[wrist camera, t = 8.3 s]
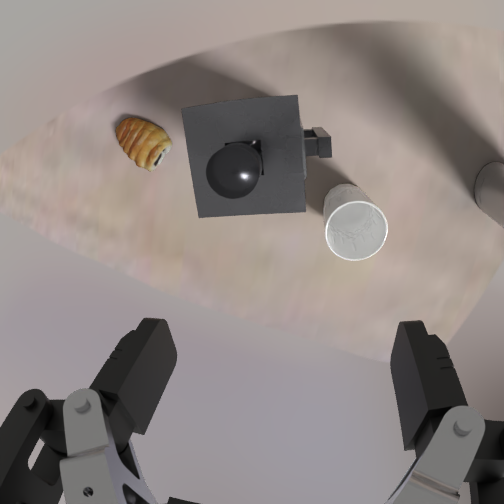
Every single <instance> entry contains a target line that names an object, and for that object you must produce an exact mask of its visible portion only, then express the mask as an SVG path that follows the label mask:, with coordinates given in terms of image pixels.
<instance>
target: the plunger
mask: <svg viewBox="0 0 504 504" xmlns="http://www.w3.org/2000/svg"><path fill="white" fill-rule="evenodd" d="M261 173H264V169H263V159H262V149H261V140H251V141H240V142H230V143H227V145H226V146H224V147H223V148H221V149H220V150H218V151H217V152H216V153H214V154H213V155H212V156H211V158H210V159H209V161H208V163H207V167H206V177H207V181H208V183H209V185H210V187H211V188H212V189H213V190H214V191H215V192H216V193H217V194H218V195H220V196H222V197H225V198H229V199H238V198H242V197H244V196H246V195H248V194H249V193H250V192H251V191H252V190H253V189H254V188H255V186H256V184H257V182H258V180H259V178H260V176H261Z"/></svg>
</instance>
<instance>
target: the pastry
mask: <svg viewBox="0 0 504 504" xmlns="http://www.w3.org/2000/svg"><path fill="white" fill-rule="evenodd" d="M116 136H117V139H118V141H119V145H120V146H121V147H123V151H124V152H125V153H126V154H127V155H128V157H129V158H130V159H132V160H134V161H135V162H136V165H137V166H138V167H142V168H145V169H147V170H148V171H150V172H151V171H154V170H155V168H156V166H157V165H159V164H160V163H161V162H162V160H163V158H164V156H165V154H166V153H168V152H169V150H170V149H171V146H172V142H171V140H170V138H169V136H168V135H167V133H166V132H165V131H164V130H163V129H162V128H160V127H158V126H156V125H154V124H152V123H150V122H147V121H144V120H141V119H138V118H127V119H125V120H123V121H122V122H121V123H120V125H119V126H118V127H117V128H116Z"/></svg>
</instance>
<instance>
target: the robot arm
mask: <svg viewBox="0 0 504 504" xmlns="http://www.w3.org/2000/svg"><path fill="white" fill-rule="evenodd" d="M474 193H475V199H476V202H477V205H478V206H479V208H480V209H481V210H482V211H483V212H484V213H486V214H487V215H488V216H489V217H491V218H492V219H493V220H494V221H496V222H497V223H498V224H499V225H500V226H502V227H503V228H504V164H502V163H500V162H491V163H489V164H487V165H486V166H485V167H483V169H482V170H481V171H480V173H479V175H478V176H477V179H476V183H475V192H474ZM176 361H177V351H176V347H175V344H174V342H173V339H172V336H171V333H170V330H169V327H168V324H167V321H166V320H165V319H157V318H156V319H155V318H144V319H143V320H142V321H141V323H140V324H139V326H138V327H137V329H136V330H132V331H130V332H129V333H128V334H126V335H125V336H124V337H123V338H122V339H121V340H120V341H119V343H118V345H117V346H116V347H115V351H113V352H112V353H111V355H110V358H109V359H107V361H106V362H105V364H104V365H103V367H102V369H101V370H100V372H99V373H98V375H97V376H96V378H95V379H94V381H93V383H92V384H91V386H90V387H89V388H88V389H79V390H77V391H75V392H73V393H72V394H70V395H69V396H68V397H67V399H66V400H49V399H48V398H47V397H46V395H45V394H44V393H43V392H42V391H41V390H39V389H31V390H28V391H26V392H25V393H23V394H22V395H21V396H20V397H19V399H18V400H17V402H16V403H15V405H14V407H13V408H12V409H11V411H10V413H9V414H8V416H7V417H6V419H5V421H4V422H3V424H2V426H1V427H0V504H58V502H59V500H60V498H61V495H62V493H63V491H64V496H65V501H66V504H158V503H157V501H156V499H155V497H154V496H153V494H152V493H151V491H150V489H149V488H148V486H147V484H146V482H145V480H144V477H143V475H142V472H141V469H140V466H139V463H138V460H137V457H136V454H135V451H134V448H133V444H132V442H131V440H130V437H131V435H132V433H133V432H135V433H138V434H142V435H144V434H145V432H146V430H147V427H148V425H149V423H150V420H151V419H152V416H153V414H154V412H155V410H156V407H157V405H158V403H159V401H160V398H161V396H162V394H163V392H164V390H165V387H166V385H167V383H168V381H169V378H170V376H171V374H172V372H173V370H174V367H175V365H176ZM390 366H391V374H392V379H393V384H394V389H395V394H396V400H397V405H398V411H399V417H400V423H401V430H402V436H403V443H404V450H405V451H407V450H414V449H415V452H416V459H415V460H414V462H413V463H412V465H411V466H410V468H409V469H408V471H407V472H406V474H405V475H404V477H403V478H402V480H401V481H400V483H399V484H398V486H397V487H396V488H395V490H394V491H393V493H392V494H391V495H390V497H389V498H388V499H387V501H386V502H385V503H384V504H457V503H458V501H459V497H460V495H459V494H458V491H459V489H460V487H461V485H462V483H463V482H469V485H470V494H471V504H504V421H503V422H502V421H491V420H485V419H483V417H482V415H481V414H480V413H479V412H478V411H477V410H475V409H474V408H472V407H469V406H468V404H467V401H466V398H465V395H464V393H463V390H462V387H461V384H460V381H459V378H458V376H457V373H456V370H455V368H454V365H453V363H452V360H451V359H450V355H449V353H448V350H447V348H446V345H445V344H444V343H443V342H442V341H441V340H440V339H439V338H438V337H437V335H436V334H434V335H428V333H427V331H426V328H425V326H424V323H423V322H422V321H421V320H418V321H403V322H400V323H399V325H398V329H397V333H396V338H395V342H394V346H393V350H392V354H391V362H390ZM39 438H40V439H41V440H42V441H43V442H44V443H45V444H44V446H43V448H42V450H41V452H40V454H39V456H38V458H37V460H36V462H35V464H34V466H33V468H32V469H31V470H30V469H29V467H28V459H29V457H30V455H31V453H32V451H33V449H34V447H35V445H36V443H37V441H38V440H39ZM167 504H199V503H194V502H190V501H185V500H180V499H177V498H172V497H169V500H168V503H167Z"/></svg>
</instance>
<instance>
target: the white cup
mask: <svg viewBox="0 0 504 504" xmlns="http://www.w3.org/2000/svg"><path fill="white" fill-rule="evenodd" d="M323 216H324V230H325V239H326V242H327V245H328V246H329V248H330V249H331V251H332V252H333V253H334V254H336V255H337V256H339V257H341V258H343V259H346V260H352V261H356V260H363V259H366V258H368V257H370V256H372V255H374V254H375V253H376V252H377V251H378V250H379V249H380V248H381V247H382V245H383V244H384V242H385V240H386V237H387V231H388V226H387V221H386V218H385V216H384V214H383V213H382V211H381V210H380V209H379V208H378V207H377V206H376V204H375V203H374V202H373V201H372V200H371V199H370V197H368V196H367V195H366V194H365V193H364V192H363V191H362V190H361V189H360V188H359V187H357V186H354V185H352V184H339V185H337V186H335V187H334V188H332V189H330V191H329V192H328V194H327V195H326V196H325V199H324V206H323Z"/></svg>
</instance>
